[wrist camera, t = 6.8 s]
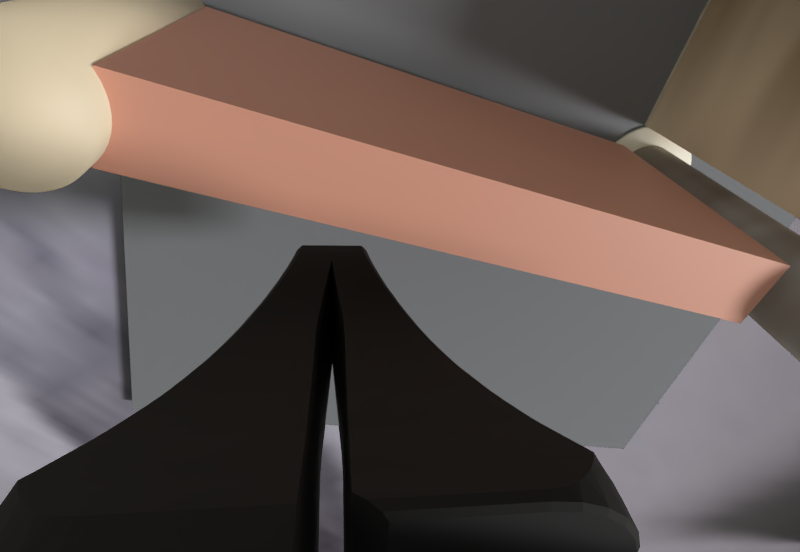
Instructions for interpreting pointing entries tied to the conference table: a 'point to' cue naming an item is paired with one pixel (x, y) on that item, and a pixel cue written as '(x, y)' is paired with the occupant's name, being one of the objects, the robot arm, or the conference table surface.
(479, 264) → the card
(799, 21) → the fence base
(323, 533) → the conference table surface
